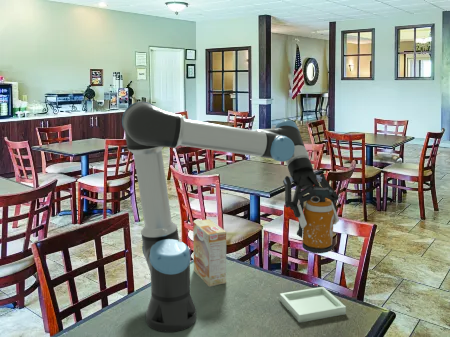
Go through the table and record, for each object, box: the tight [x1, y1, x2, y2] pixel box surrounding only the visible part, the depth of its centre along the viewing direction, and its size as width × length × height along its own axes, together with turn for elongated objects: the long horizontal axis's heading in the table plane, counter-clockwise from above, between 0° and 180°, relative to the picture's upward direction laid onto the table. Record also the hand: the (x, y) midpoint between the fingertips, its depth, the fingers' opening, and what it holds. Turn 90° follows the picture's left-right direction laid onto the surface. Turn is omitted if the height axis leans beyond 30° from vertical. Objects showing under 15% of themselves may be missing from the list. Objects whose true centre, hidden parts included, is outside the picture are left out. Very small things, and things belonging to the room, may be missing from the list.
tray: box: [279, 286, 347, 324], centre depth 146 cm, size 16×14×2 cm
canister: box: [296, 186, 334, 254], centre depth 140 cm, size 9×11×20 cm
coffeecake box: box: [192, 218, 227, 287], centre depth 166 cm, size 15×7×20 cm, turn 25°
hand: (320, 224), depth 138 cm, fingers closed on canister, 10 cm apart
